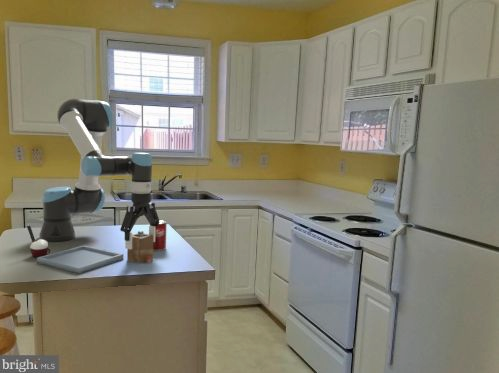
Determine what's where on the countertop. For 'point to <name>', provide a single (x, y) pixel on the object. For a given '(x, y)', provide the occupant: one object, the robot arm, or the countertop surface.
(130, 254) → the wooden hollow block
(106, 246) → the countertop surface
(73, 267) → the tray
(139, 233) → the rod
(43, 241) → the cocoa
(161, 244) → the soda can
